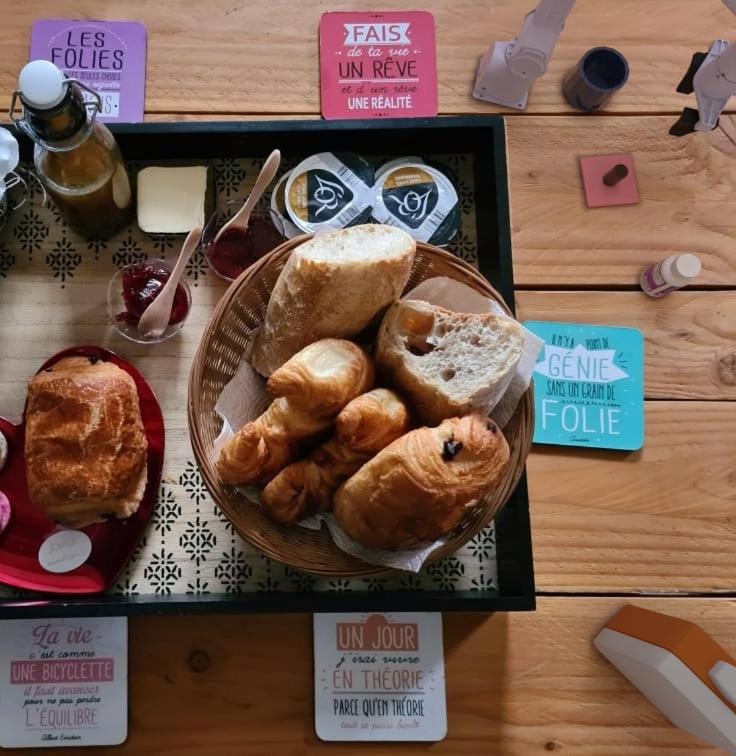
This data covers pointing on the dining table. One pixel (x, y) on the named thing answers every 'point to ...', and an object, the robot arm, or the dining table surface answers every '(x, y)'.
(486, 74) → the robot arm
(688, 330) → the dining table surface
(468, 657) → the dining table surface
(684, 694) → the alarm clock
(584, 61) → the dark faceted cylinder
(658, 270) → the pill bottle
